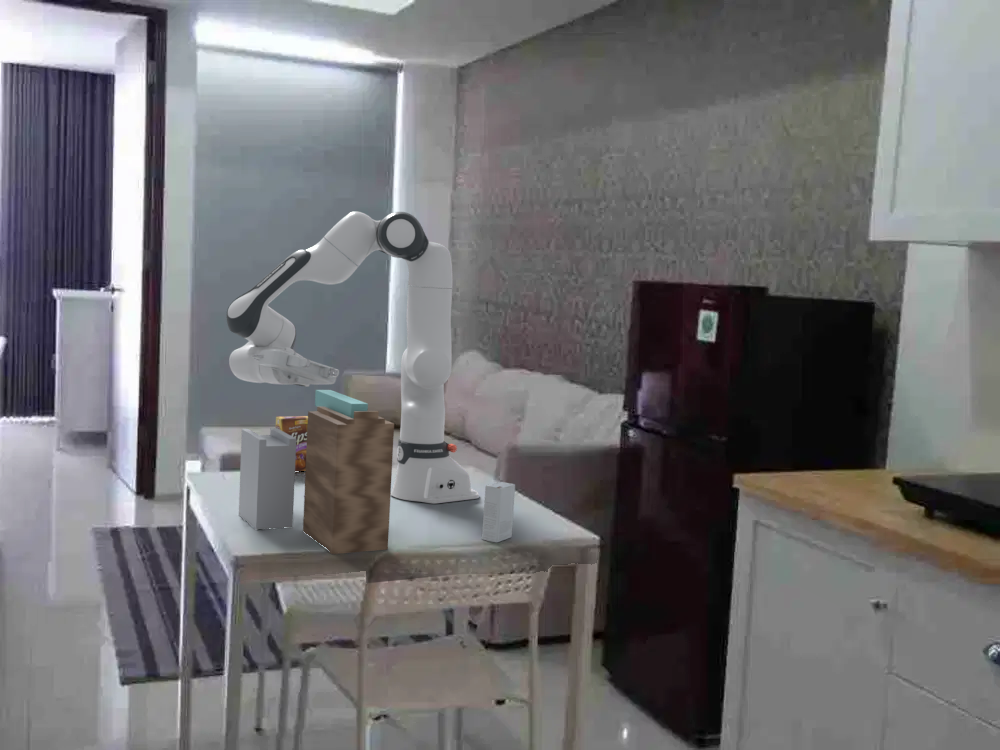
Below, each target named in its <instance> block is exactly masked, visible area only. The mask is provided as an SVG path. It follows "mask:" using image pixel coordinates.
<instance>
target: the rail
mask: <svg viewBox="0 0 1000 750" xmlns="http://www.w3.org/2000/svg"><path fill="white" fill-rule="evenodd" d="M314 398H315V399H314V406H315V407H317V406H324V407H327V408H329V409H331V410H334V411H336V412H339V413H341V414H343V415H346V416H348V417H350V418H353V419H354V411H369V410H368V409H369V403H367V402H364V401H362V400H359V399H356V398H353V397H351V396H348V395H345V394H343V393H340V392H337V391H334V390H332V389H315V396H314Z"/></svg>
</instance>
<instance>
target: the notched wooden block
mask: <svg viewBox="0 0 1000 750" xmlns="http://www.w3.org/2000/svg"><path fill="white" fill-rule="evenodd" d="M316 407H317V408H316V410H312V411H311V410H310V411H309V410H307V416H308V425H307V448H306V472H304V473H305V475H304V495H303V497H304V499H303V518H302V519H303V520H302V521H303V522H302V523H303V524H302V525H303V527H302V532H303V531H304V532H305V533H306V534H308V535H309V536H311V537H312V538H313V539H314V540H316V541H317V542H318V543H320V544H321V545H323V546H324V547H326V548H327V549H328V550H329V551H330V552H329V553H330V554H331V555H337V554H338V555H340V554H349V553H352V554H353V553H361V552H362V553H363V552H373V551H374V552H375V551H385V550H387V549H389V536H390V535H389V533H390V512H391V496H392V495H391V491H392V474H393V473H392V472H393V458H394V457H393V454H394V434H395V423H394V422H391V421H389V420H386V418H384V417H381V416H379V410H368V411H354V419H353V418H350V417H348V416H346V415H343V414H341V413H339V412H336V411H334V410H331V409H329V408H327V407H324V406H316ZM304 532H303V533H304ZM305 533H304V534H305ZM306 534H305V535H306ZM308 535H307V536H308ZM309 536H308V537H309ZM312 538H311V539H312ZM313 539H312V540H313ZM314 540H313V541H314ZM317 542H316V543H317ZM318 543H317V544H318ZM321 545H320V546H321ZM387 551H388V550H387Z"/></svg>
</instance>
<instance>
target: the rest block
mask: <svg viewBox="0 0 1000 750" xmlns="http://www.w3.org/2000/svg"><path fill="white" fill-rule="evenodd" d="M240 444H241V445H240V469H239V471H240V472H239V473H240V474H239V497H238V500H239V501H238V516H240V518H241V519H243V520H244V521H245V520H246V521H247V522H248V523H247V522H246V521H245V522H246V523H247V524H248V525H250V527H252V526H253V527H254V528H255V529H265V530H270V529H269V528H279V529H285V528H284V527H293V524H294V505H295V504H294V501H295V479H296V475H295V474H296V472H295V458H296V438H294V437H292V436H291V435H289V434H287V433H285V432H283V431H281V430H279V429H278V428H276V427H273V428H272V427H271V428H270V431H269V434H258V433H257V432H255V431H253V430H251V429H249V428H241V441H240ZM253 527H252V528H253ZM254 528H253V529H254ZM255 529H254V530H255Z"/></svg>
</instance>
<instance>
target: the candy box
mask: <svg viewBox="0 0 1000 750" xmlns="http://www.w3.org/2000/svg"><path fill="white" fill-rule="evenodd" d="M307 425H308V415H297V416H296V415H293V416H292V415H289V416H285V415H284V416H283V415H282V416H281V415H279V416H278V415H276V416H275V428H278V429H279V430H281V431H283V432H285V433H287V434H289V435H291V436H292V437H294V438H296V458H295V471H306V448H307Z"/></svg>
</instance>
